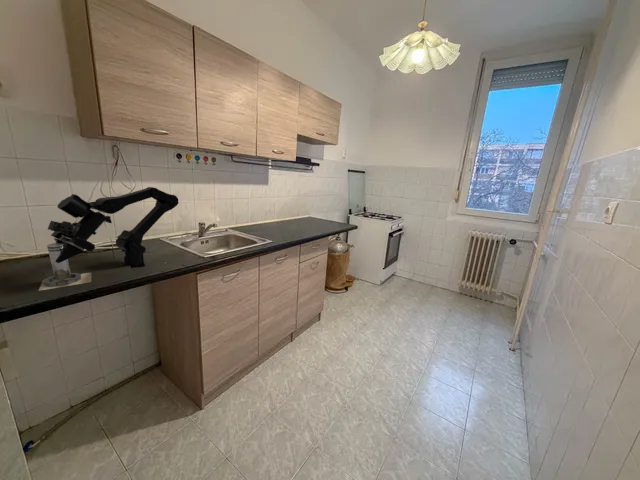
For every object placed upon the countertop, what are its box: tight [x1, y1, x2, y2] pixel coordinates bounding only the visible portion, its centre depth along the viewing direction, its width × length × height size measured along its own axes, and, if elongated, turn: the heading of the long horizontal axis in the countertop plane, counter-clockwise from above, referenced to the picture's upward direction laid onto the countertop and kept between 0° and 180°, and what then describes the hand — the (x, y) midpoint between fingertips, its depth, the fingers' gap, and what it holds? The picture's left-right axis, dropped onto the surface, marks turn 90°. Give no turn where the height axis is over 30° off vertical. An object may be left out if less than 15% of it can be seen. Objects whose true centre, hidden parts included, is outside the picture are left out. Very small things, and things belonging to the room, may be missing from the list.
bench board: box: [38, 272, 92, 292], centre depth 91 cm, size 13×11×1 cm
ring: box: [42, 272, 82, 287], centre depth 91 cm, size 9×9×1 cm
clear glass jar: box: [46, 242, 72, 280], centre depth 89 cm, size 4×4×12 cm
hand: (54, 261), depth 88 cm, fingers closed on clear glass jar, 4 cm apart
